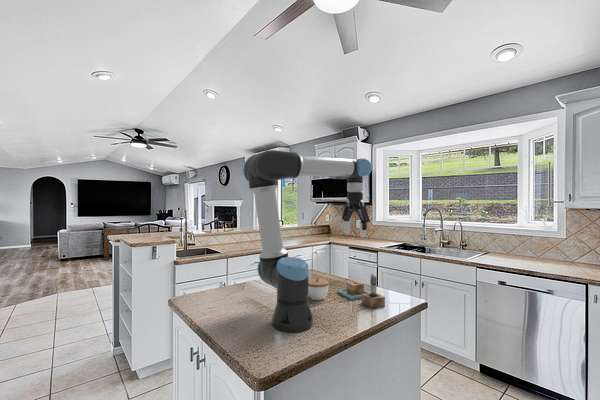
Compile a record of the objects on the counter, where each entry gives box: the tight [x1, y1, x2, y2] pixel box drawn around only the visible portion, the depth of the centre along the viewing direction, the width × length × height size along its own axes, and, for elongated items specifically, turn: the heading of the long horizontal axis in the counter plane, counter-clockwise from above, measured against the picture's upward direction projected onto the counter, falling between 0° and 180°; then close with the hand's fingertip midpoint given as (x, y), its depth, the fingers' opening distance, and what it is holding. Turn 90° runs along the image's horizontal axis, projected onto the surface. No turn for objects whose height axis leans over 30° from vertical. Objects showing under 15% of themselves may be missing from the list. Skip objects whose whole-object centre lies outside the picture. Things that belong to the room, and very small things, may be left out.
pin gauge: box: [370, 273, 378, 297], centre depth 127 cm, size 3×3×13 cm
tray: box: [337, 287, 371, 301], centre depth 140 cm, size 12×12×2 cm
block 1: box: [346, 280, 365, 296], centre depth 141 cm, size 6×6×5 cm
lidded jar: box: [308, 277, 330, 301], centre depth 135 cm, size 11×11×9 cm
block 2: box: [361, 292, 386, 309], centre depth 127 cm, size 7×7×4 cm
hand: (354, 235), depth 141 cm, fingers open, 13 cm apart
